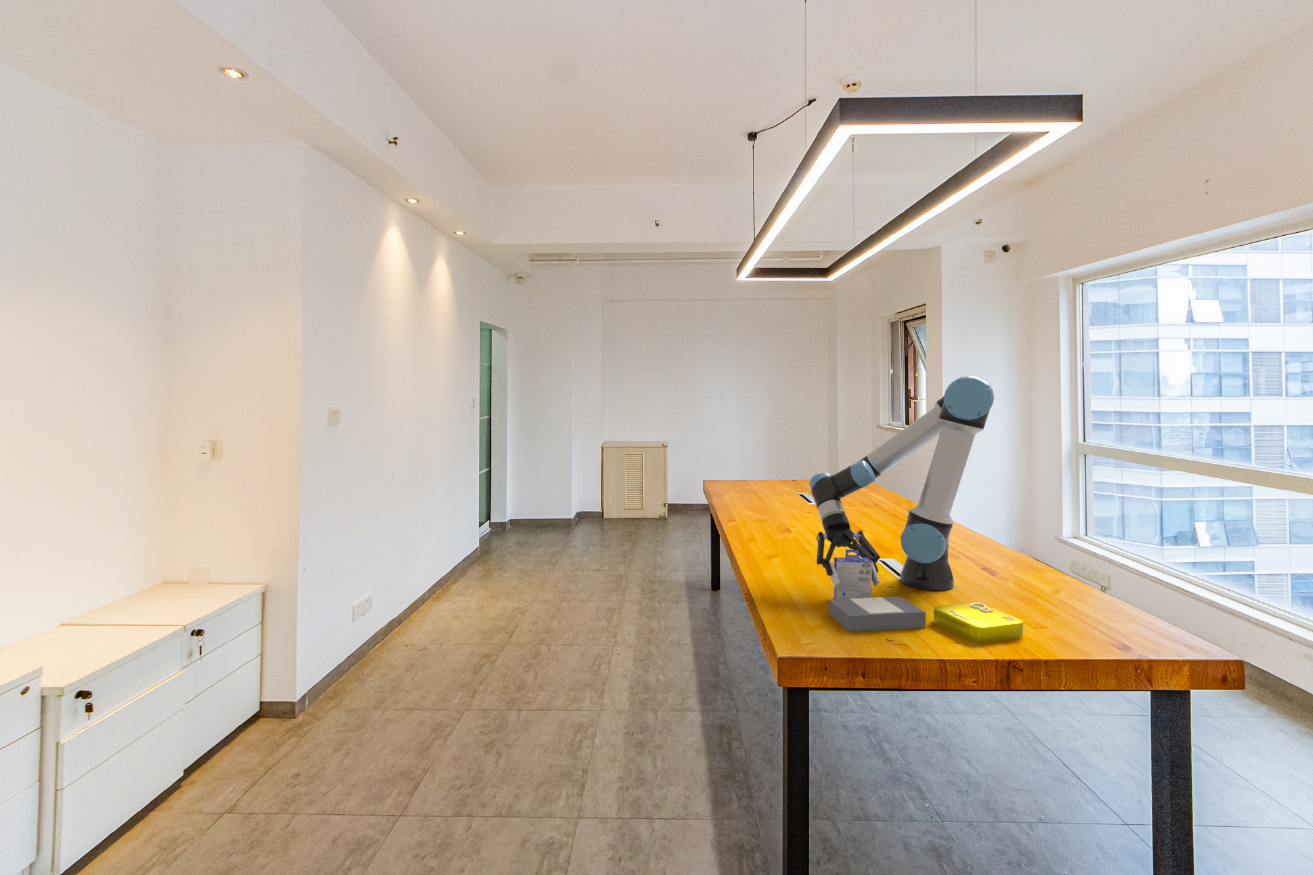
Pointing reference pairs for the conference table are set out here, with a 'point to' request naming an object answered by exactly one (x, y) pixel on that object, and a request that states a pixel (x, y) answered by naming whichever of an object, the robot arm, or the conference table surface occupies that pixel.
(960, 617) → the element tile
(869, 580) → the ink cartridge box
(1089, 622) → the conference table surface
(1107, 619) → the conference table surface
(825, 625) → the conference table surface
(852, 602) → the grey flat block
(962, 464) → the robot arm
